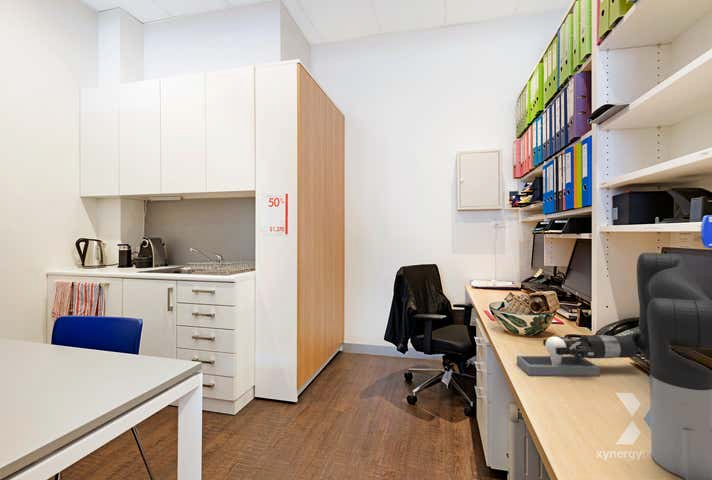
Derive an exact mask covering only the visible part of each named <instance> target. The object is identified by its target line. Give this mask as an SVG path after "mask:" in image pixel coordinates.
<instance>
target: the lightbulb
mask: <svg viewBox="0 0 712 480" xmlns="http://www.w3.org/2000/svg"><path fill="white" fill-rule="evenodd" d="M559 337H560V336H551V337H548V338H547V341H546V344H545V345H546V346H545V348H546V350H547V353H549V356H550V357H551V361H552V366H561V361H562V356H564V355H558V354H556V348H557V347H566V344H565V342H564V341H563V340H562V339H561V338H559Z"/></svg>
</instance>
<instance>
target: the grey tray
mask: <svg viewBox="0 0 712 480" xmlns="http://www.w3.org/2000/svg"><path fill="white" fill-rule="evenodd" d="M517 364H518V365H519V366H520V367H521V368H520V369H521V370H523V372H525V374H527V375H528V376H529V377H600V366H599V365H597V364H595V363H593V362H591V361H590V360H589V359H587V358H575V357H574V356H570V355H563V356H562V361H561V366H552V361H551V357H550V355H516V365H517ZM518 365H517V366H518ZM519 366H518V367H519Z"/></svg>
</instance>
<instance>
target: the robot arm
mask: <svg viewBox="0 0 712 480" xmlns="http://www.w3.org/2000/svg"><path fill="white" fill-rule="evenodd" d="M636 283H637V296H638V302H639V315H638V330H639V331H636V332H632V333H628V334H626V335H604V334H599V335H598V334H597V335H596V334H595V335H593V334H592V335H590V334H589V335H587V334H585V335H581V336H580V337H579V339H578V340H577V339H575V338H572V337H570V336H558V337H559V338H561V339H562V340H563V341H564V342H565V344H566V347H557V348H556V354H558V355H563V356H574V357H575V358H585V359H617V358H618V359H619V358H620V359H623V358H625V359H629V358H633V357H636V356H637V354H638V351H639V352H640V354H641V355H642V356H644V357H645V358H646V359H647V360H648V361H649V395H650V396H649V397H650V398H649V399H650V400H649V403H650V406H649V407H650V438H651V439H650V441H651V443H650V445H651V447H650V448H651V458H652V460H654V462H655V463H656V464H658V465H659V466H660V467H662V468H663V469H664V470H666V471H668V472H670V473H672V474H675V475H677V476H679V477H680V478H683V479H684V480H712V370H711V369H710V368H708V367H707V366H705V365H703V364H701V363H699V362H696V361H694V360H691V359H688V358H686V357H684V356H682V355H680V354H679V353H677V352H676V351H674V350H673V349H672V346H676V347H682V348H691V349H698V350H712V300H711V299H710V298H709V297H708V296H707V295H705V293H704V291H703V290H702V287H701V286H700V284H699V283H698V281H697V280H696V279H695V278H694V276H693V274H692V273H691V269H690V266H689V263H688V261H687V259H686V258H685V257H684V256H683V255H681V254H678V253H665V252H664V253H663V252H642V253H641V254H639V256H638V257H637V262H636ZM547 339H548V338H547ZM547 339H543V340H542V345H543V346H544V347H546V345H545V344H546V341H547Z"/></svg>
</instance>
